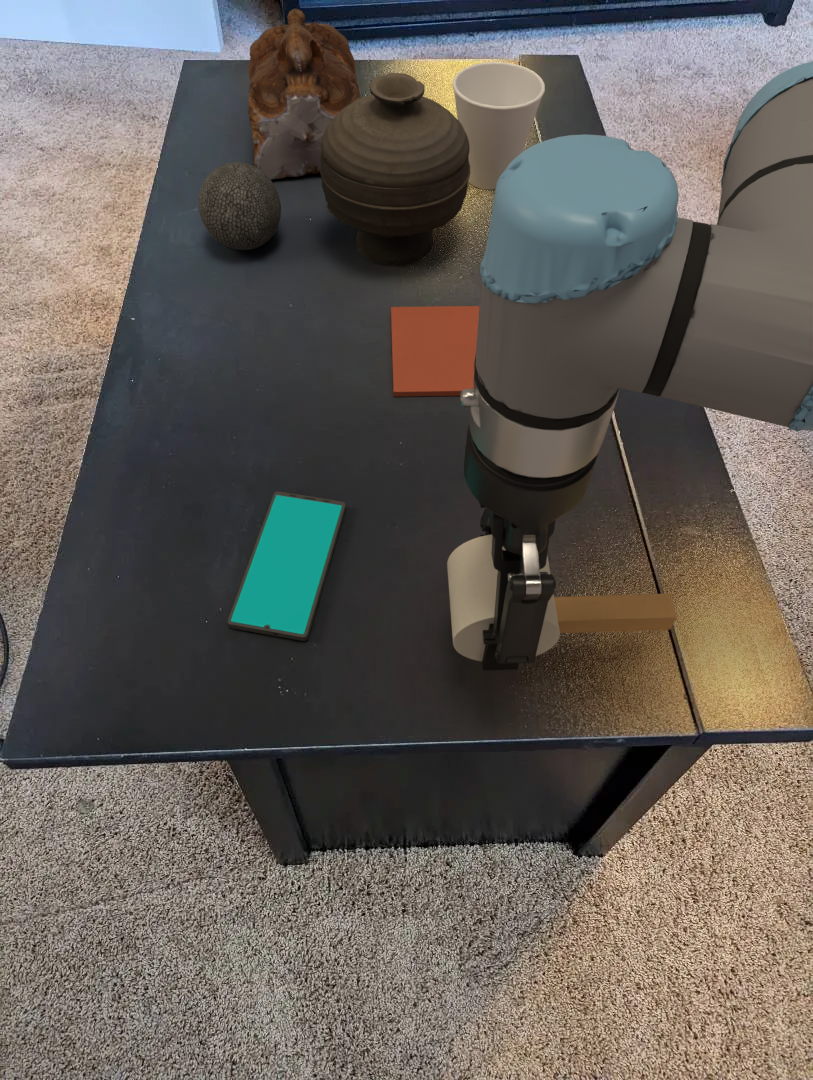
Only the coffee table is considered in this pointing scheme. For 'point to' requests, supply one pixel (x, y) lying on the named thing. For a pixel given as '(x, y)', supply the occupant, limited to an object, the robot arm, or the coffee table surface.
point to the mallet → (577, 614)
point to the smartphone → (288, 566)
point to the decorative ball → (239, 206)
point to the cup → (495, 115)
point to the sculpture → (297, 93)
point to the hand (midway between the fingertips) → (494, 621)
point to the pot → (395, 169)
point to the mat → (433, 349)
